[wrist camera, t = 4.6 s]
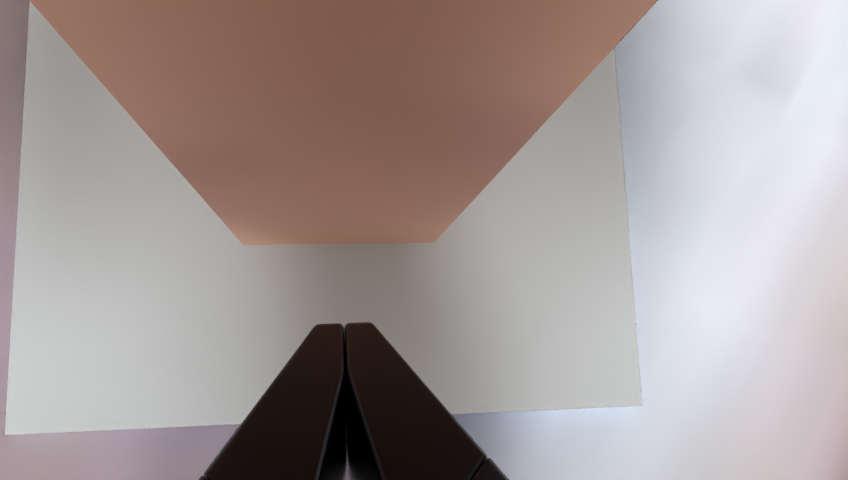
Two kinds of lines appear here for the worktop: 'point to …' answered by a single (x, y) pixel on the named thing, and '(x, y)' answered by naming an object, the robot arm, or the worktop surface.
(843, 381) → the worktop surface
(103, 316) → the rubber mat
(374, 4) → the terracotta block
